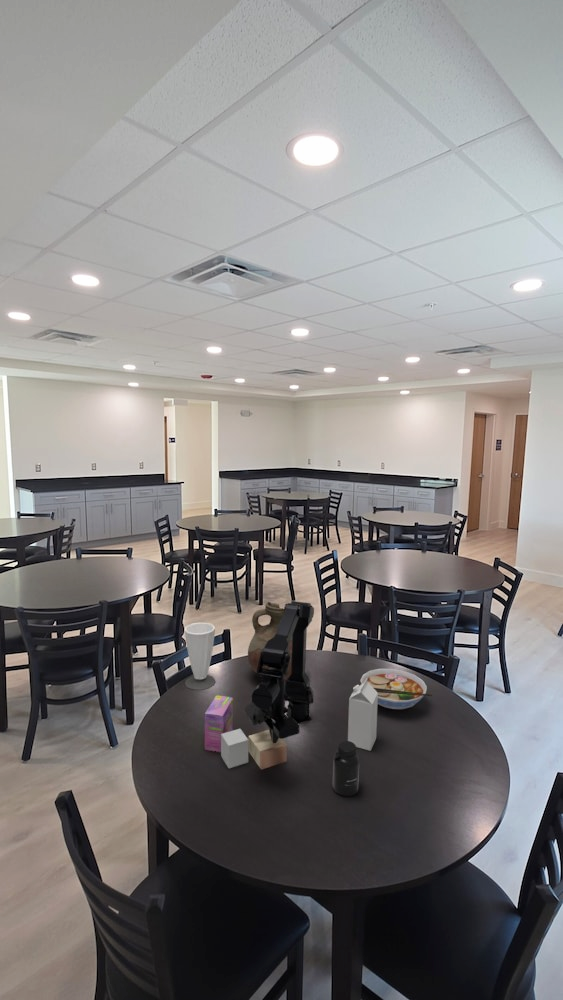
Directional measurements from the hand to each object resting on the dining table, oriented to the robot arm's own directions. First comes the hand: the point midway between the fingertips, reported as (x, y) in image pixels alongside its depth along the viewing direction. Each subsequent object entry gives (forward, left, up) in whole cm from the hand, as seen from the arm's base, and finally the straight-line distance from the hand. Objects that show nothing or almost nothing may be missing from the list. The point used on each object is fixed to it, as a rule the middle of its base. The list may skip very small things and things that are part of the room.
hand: (274, 742), depth 135 cm
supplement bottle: (-13, +16, -7) cm, 22 cm away
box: (+10, -18, -7) cm, 21 cm away
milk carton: (-29, +2, -7) cm, 30 cm away
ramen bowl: (-52, -11, -7) cm, 54 cm away
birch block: (0, 0, -5) cm, 5 cm away
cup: (+4, -55, -7) cm, 55 cm away
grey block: (+9, -8, -7) cm, 14 cm away
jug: (-23, -45, -7) cm, 51 cm away
